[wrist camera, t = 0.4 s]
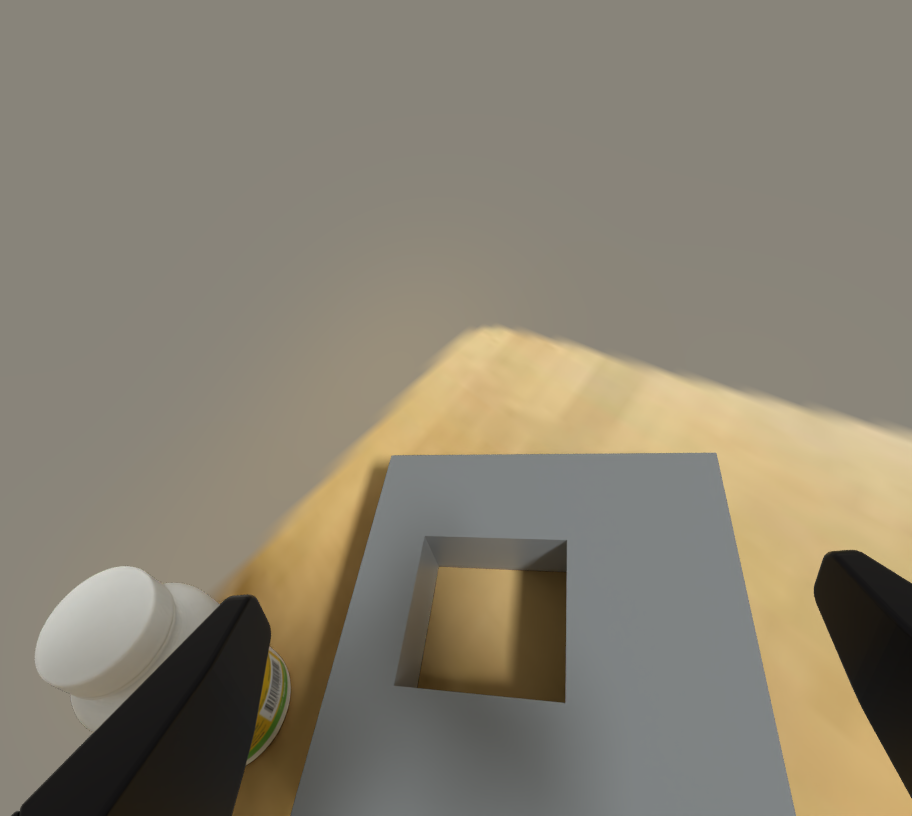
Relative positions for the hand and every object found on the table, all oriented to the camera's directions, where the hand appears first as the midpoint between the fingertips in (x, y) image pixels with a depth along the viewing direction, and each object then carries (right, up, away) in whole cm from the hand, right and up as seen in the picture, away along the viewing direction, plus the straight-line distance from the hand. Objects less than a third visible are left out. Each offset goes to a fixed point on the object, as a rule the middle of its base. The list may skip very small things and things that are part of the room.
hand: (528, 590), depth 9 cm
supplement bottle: (-11, -11, +16) cm, 22 cm away
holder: (+3, -7, +15) cm, 17 cm away
